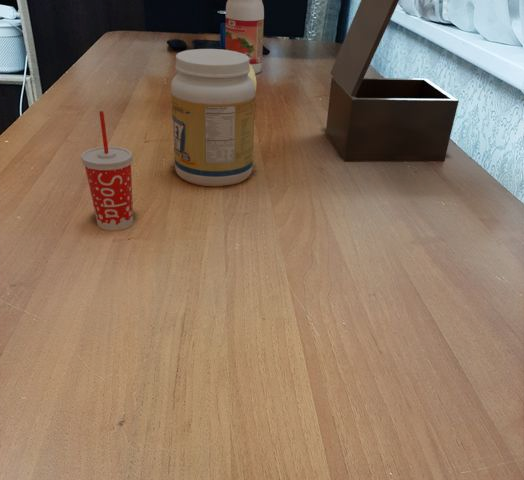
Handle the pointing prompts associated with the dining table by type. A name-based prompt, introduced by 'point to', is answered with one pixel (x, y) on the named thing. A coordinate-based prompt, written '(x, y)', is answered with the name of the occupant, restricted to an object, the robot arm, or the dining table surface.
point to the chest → (391, 120)
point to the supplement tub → (213, 117)
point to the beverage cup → (110, 183)
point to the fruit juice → (246, 29)
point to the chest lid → (362, 42)
